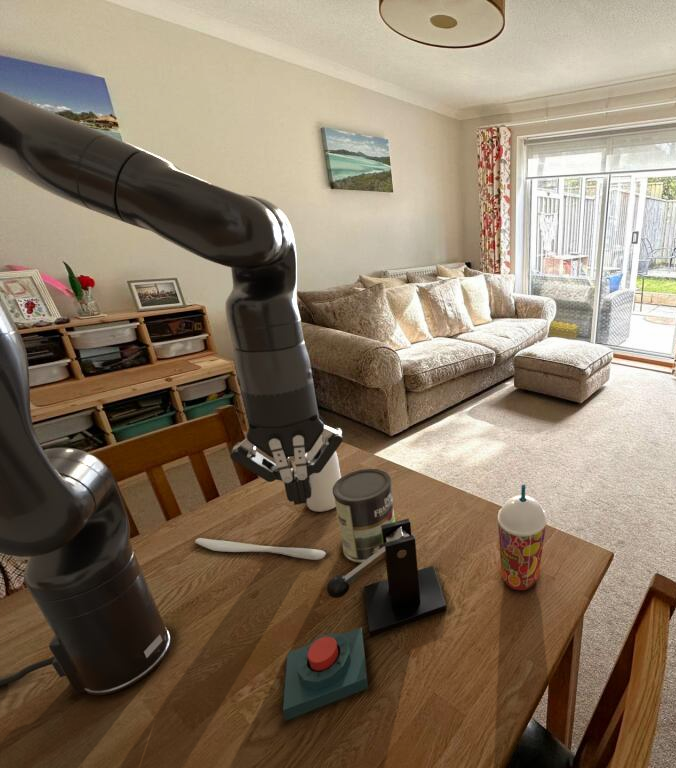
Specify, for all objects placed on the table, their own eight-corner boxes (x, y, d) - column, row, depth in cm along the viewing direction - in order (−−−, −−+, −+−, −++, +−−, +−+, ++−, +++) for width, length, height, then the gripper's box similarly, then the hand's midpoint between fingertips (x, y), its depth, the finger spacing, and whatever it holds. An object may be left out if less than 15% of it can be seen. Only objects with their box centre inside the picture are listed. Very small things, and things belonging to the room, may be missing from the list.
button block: (285, 721, 51) (279, 701, 50) (290, 662, 58) (284, 643, 57) (368, 688, 55) (364, 669, 54) (363, 637, 62) (360, 618, 60)
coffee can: (406, 529, 84) (400, 471, 79) (381, 567, 74) (373, 505, 69) (360, 521, 86) (352, 464, 80) (331, 557, 76) (319, 496, 71)
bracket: (370, 637, 62) (359, 564, 56) (365, 591, 69) (354, 523, 64) (446, 611, 66) (443, 540, 61) (433, 570, 74) (429, 504, 69)
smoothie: (489, 569, 75) (489, 478, 67) (528, 554, 78) (532, 466, 71) (509, 604, 68) (512, 508, 60) (551, 586, 71) (559, 493, 64)
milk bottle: (351, 498, 93) (339, 420, 85) (320, 517, 86) (305, 435, 79) (330, 487, 96) (317, 411, 89) (299, 504, 90) (283, 425, 83)
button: (309, 675, 53) (307, 666, 52) (310, 650, 56) (308, 642, 55) (338, 664, 54) (337, 656, 54) (337, 641, 57) (336, 632, 57)
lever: (336, 606, 61) (322, 596, 59) (336, 590, 64) (322, 580, 62) (413, 547, 63) (402, 536, 61) (410, 533, 65) (398, 523, 64)
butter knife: (318, 562, 74) (327, 549, 77) (188, 546, 78) (200, 534, 80) (319, 564, 74) (328, 552, 77) (189, 548, 78) (201, 537, 80)
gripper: (337, 364, 53) (352, 475, 60) (218, 375, 48) (248, 494, 55) (338, 384, 47) (355, 506, 53) (201, 399, 42) (237, 531, 48)
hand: (300, 500), depth 54 cm, fingers closed
